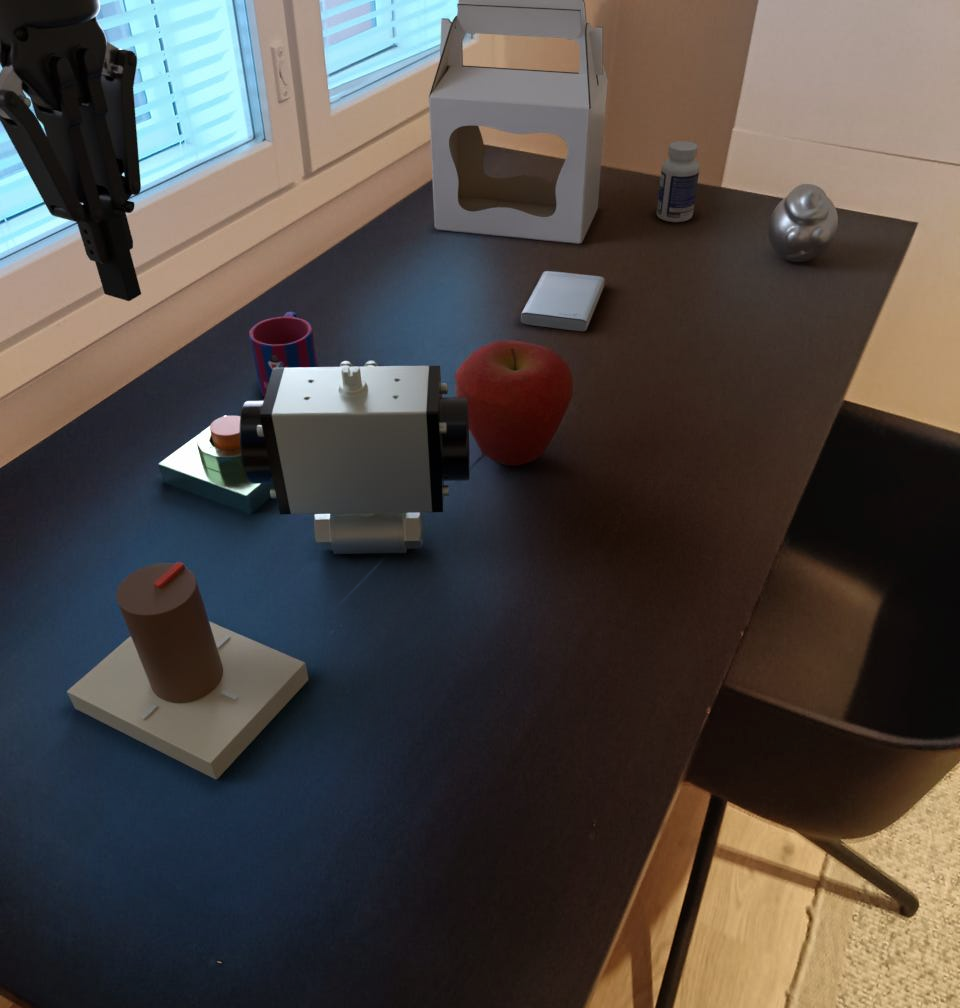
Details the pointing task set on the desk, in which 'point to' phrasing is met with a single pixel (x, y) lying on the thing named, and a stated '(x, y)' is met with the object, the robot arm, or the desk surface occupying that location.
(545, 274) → the hard drive
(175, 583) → the knob
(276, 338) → the mug
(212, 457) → the button box
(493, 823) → the desk surface
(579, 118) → the gable box
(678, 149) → the pill bottle
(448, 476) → the ball valve
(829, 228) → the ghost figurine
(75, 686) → the panel
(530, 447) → the apple
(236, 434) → the button
